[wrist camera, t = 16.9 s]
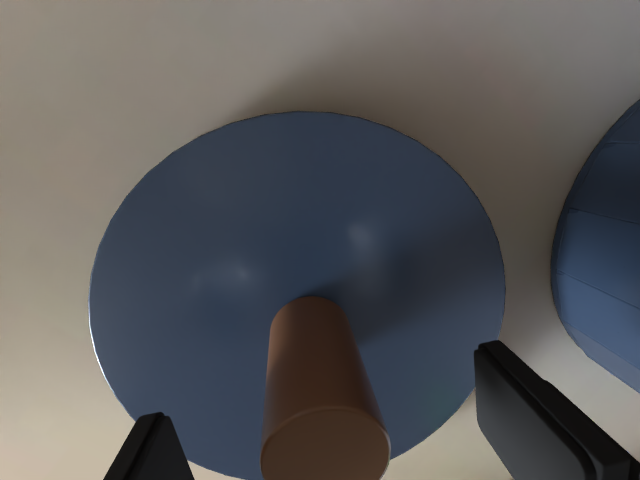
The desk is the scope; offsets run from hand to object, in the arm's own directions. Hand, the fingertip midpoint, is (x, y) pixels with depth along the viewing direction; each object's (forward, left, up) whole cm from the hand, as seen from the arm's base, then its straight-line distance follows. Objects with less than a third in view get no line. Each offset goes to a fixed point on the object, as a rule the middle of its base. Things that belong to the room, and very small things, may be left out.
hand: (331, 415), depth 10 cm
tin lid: (-1, 0, -4) cm, 4 cm away
